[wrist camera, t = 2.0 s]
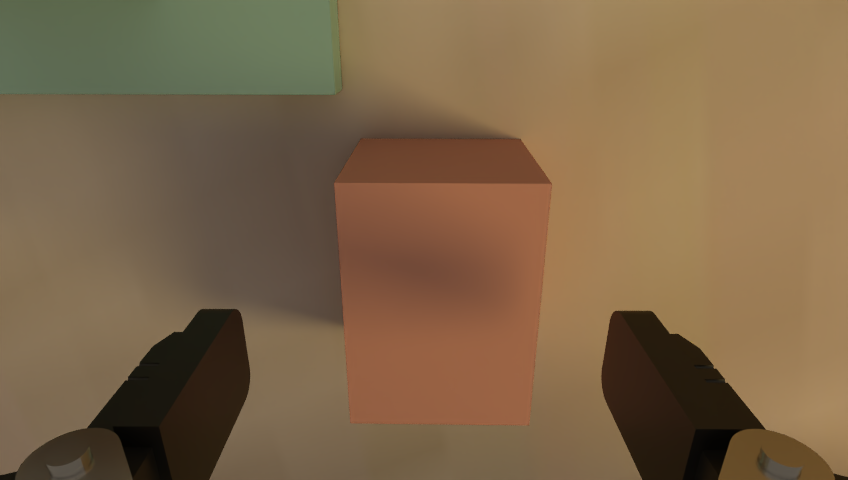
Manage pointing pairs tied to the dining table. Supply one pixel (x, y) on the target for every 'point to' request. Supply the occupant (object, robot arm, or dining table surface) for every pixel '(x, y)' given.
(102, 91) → the baseplate
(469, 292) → the red brick
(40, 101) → the dining table surface
